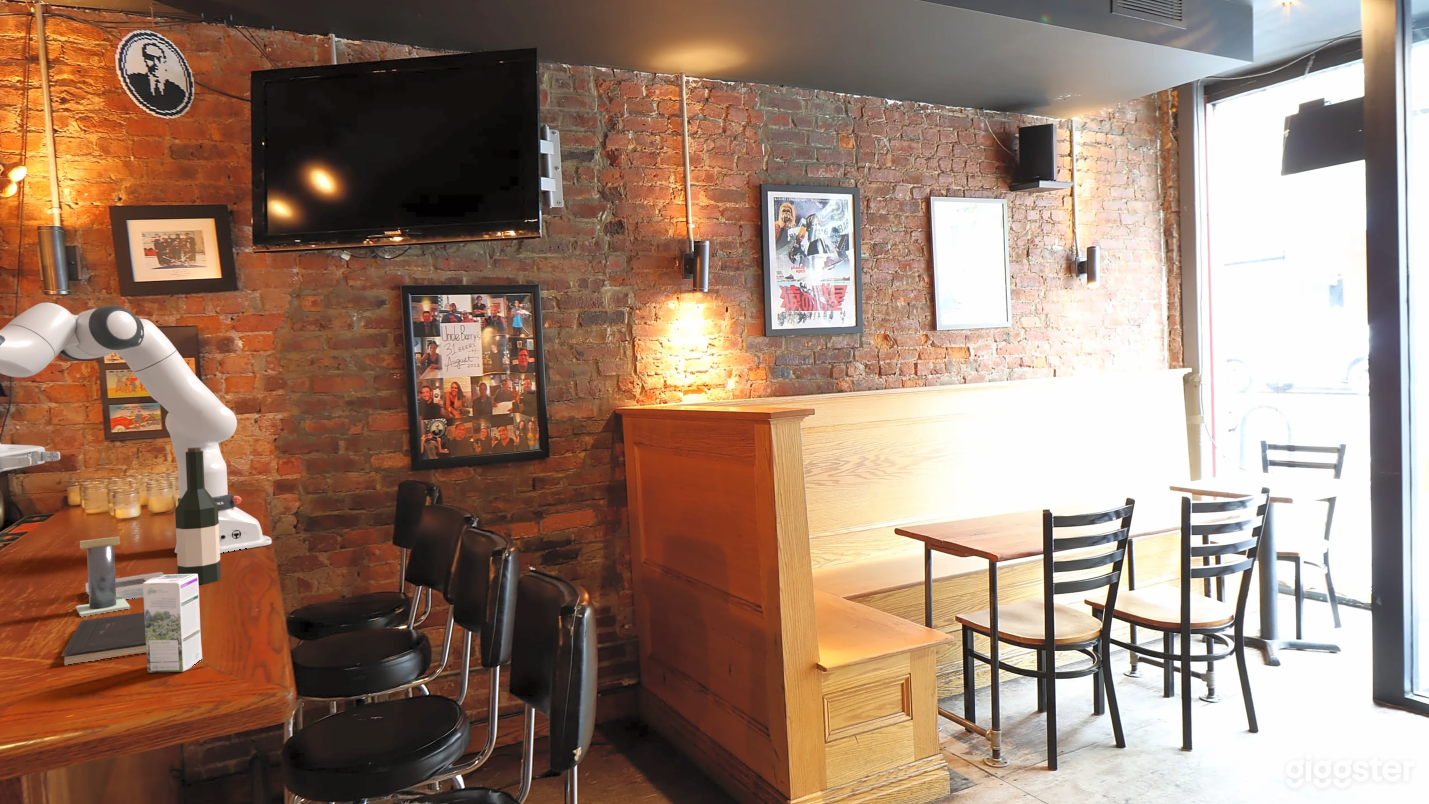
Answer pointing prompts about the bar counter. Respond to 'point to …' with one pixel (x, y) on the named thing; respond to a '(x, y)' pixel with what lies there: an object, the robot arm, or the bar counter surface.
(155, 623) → the syrup box
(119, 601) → the coaster
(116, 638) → the hardcover book
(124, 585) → the plate
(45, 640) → the bar counter surface
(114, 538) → the t key
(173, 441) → the robot arm
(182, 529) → the wine bottle
